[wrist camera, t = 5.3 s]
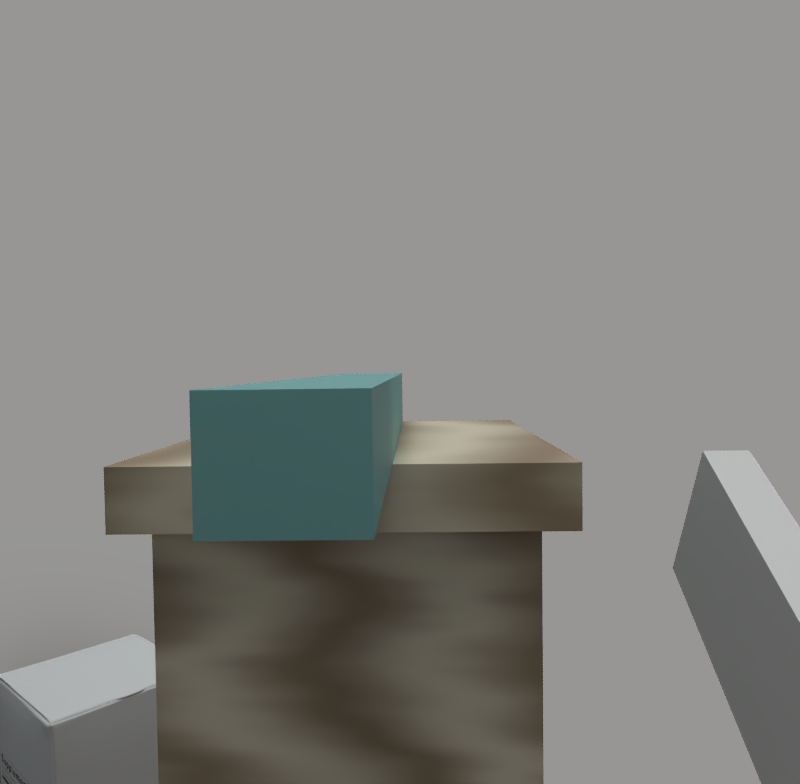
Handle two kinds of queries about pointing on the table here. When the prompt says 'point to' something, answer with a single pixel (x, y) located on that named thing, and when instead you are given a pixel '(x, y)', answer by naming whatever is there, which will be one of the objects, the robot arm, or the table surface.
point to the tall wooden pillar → (359, 621)
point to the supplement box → (82, 717)
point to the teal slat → (293, 457)
